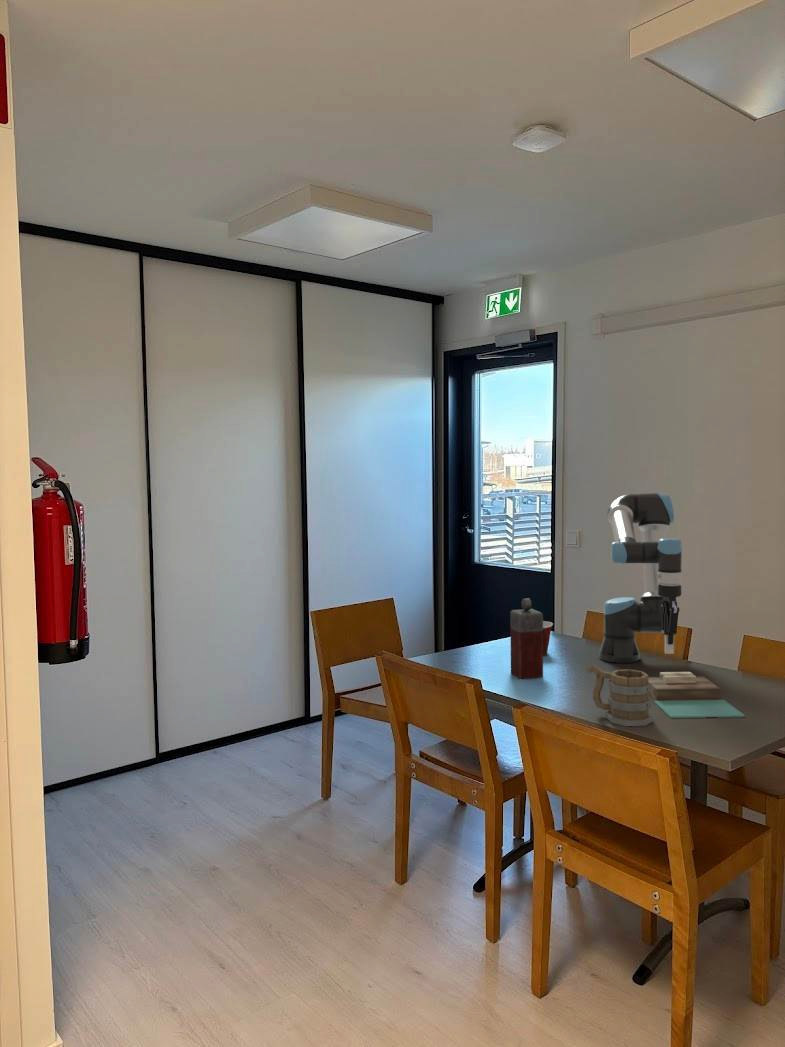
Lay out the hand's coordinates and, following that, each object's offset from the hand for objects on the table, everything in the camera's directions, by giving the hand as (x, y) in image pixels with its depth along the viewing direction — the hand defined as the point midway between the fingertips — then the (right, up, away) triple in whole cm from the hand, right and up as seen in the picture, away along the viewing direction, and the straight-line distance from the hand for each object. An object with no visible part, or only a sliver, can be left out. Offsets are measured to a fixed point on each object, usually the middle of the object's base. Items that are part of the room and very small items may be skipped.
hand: (669, 653), depth 278 cm
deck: (0, -12, -11) cm, 16 cm away
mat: (0, -13, -26) cm, 29 cm away
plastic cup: (-35, -8, +50) cm, 61 cm away
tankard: (-26, -14, -32) cm, 44 cm away
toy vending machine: (-45, -11, +17) cm, 49 cm away
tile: (0, -8, -8) cm, 11 cm away
